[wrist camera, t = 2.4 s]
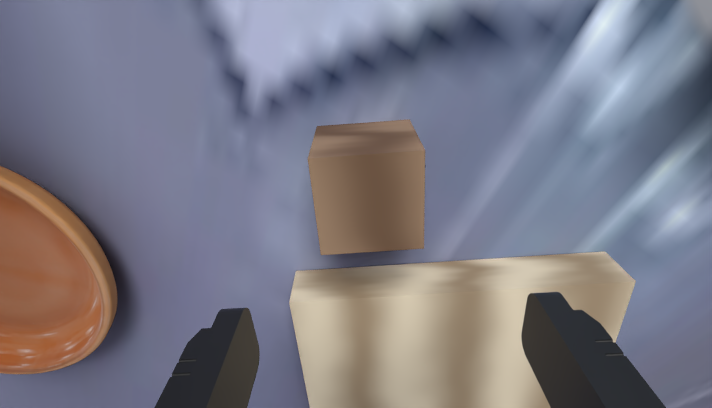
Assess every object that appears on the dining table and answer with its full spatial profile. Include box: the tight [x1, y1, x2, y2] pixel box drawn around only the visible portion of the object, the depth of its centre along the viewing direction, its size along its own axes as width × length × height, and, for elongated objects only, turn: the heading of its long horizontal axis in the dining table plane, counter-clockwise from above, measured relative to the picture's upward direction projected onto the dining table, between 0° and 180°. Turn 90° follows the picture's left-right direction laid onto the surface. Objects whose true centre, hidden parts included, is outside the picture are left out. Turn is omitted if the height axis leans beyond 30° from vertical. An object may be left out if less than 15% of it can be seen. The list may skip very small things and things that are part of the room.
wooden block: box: [289, 252, 636, 408], centre depth 27 cm, size 20×14×3 cm
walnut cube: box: [308, 120, 425, 255], centre depth 20 cm, size 5×5×5 cm
